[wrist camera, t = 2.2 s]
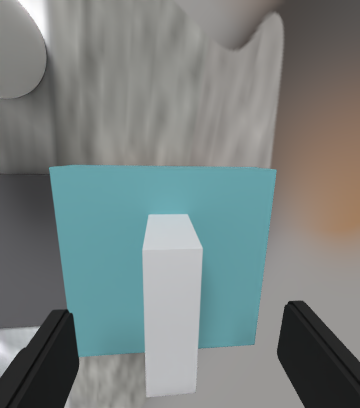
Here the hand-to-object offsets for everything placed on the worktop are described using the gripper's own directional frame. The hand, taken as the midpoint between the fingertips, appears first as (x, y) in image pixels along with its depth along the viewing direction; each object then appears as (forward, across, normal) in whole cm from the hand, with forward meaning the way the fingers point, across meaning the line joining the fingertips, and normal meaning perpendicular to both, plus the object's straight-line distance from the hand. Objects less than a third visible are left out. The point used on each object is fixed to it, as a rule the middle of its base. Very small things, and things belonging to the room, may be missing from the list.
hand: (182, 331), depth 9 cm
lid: (+8, +1, 0) cm, 8 cm away
